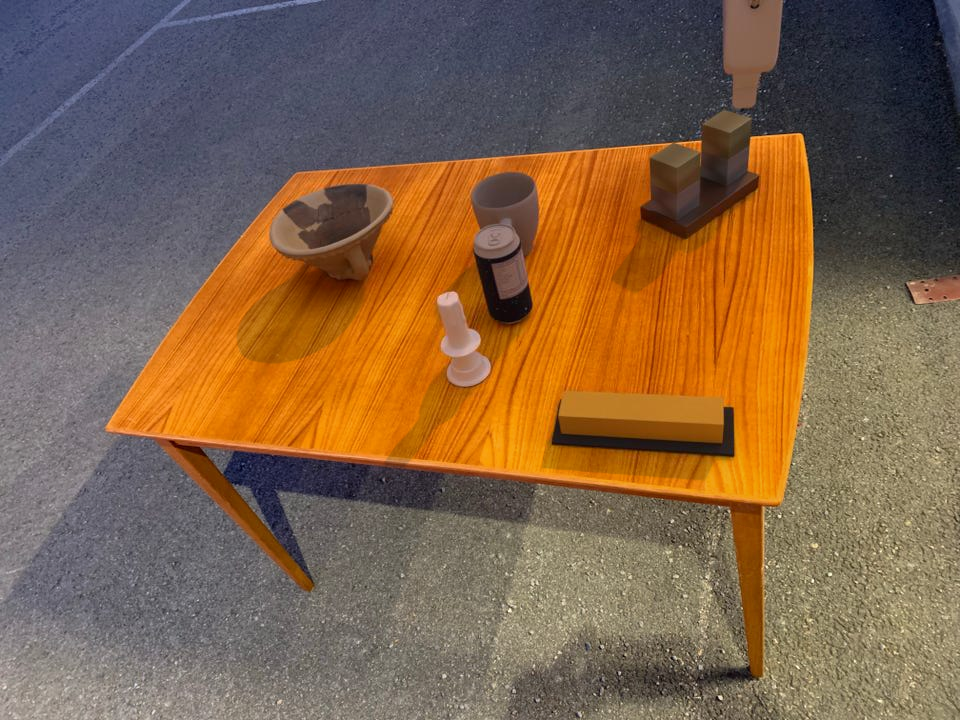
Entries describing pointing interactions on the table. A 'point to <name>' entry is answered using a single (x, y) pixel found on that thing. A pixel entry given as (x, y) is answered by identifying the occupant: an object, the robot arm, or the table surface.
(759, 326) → the table surface
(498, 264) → the beverage can
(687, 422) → the bar
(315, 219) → the bowl
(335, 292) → the table surface
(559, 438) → the mat
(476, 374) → the candle
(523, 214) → the mug
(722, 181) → the tower
